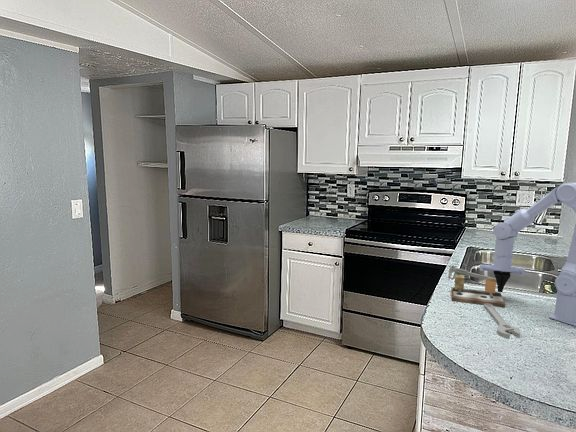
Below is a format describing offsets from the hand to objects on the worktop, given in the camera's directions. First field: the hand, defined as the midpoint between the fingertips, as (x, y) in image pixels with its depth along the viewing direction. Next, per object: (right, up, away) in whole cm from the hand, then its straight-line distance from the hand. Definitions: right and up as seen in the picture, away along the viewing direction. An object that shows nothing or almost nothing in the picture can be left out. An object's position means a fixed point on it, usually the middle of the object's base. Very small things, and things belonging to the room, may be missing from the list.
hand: (499, 291), depth 148 cm
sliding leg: (-4, -1, -1) cm, 4 cm away
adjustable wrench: (-10, -7, -19) cm, 23 cm away
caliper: (+1, 0, +22) cm, 22 cm away
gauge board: (-8, -3, 0) cm, 9 cm away
